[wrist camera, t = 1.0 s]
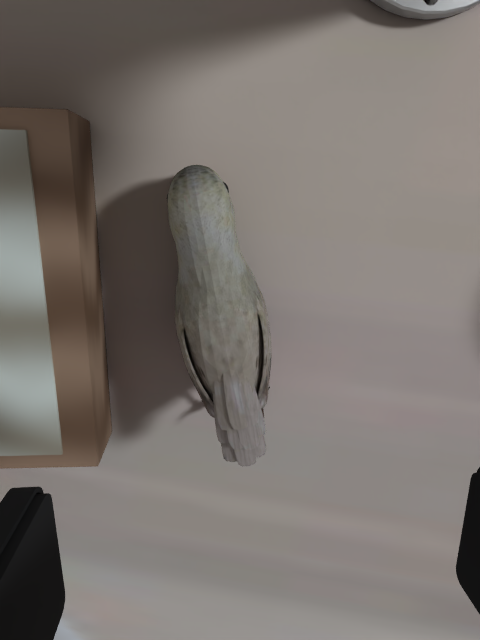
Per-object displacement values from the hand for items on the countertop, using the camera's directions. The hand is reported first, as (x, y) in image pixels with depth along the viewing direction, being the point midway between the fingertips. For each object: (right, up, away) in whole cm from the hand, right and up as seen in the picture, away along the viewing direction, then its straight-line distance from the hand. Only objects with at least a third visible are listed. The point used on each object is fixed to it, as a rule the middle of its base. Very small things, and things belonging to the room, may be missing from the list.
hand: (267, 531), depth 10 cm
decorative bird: (-2, +6, +19) cm, 20 cm away
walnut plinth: (-15, +6, +18) cm, 24 cm away
